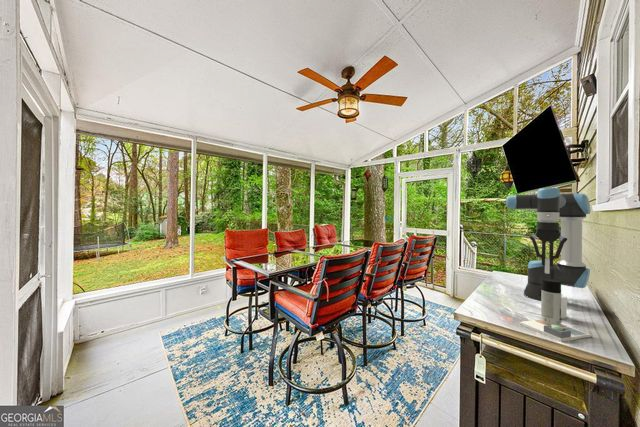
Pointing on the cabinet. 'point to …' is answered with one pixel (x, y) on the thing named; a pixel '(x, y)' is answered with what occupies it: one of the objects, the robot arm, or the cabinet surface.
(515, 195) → the robot arm
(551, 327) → the button
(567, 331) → the picture board
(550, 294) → the spray can
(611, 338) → the cabinet surface
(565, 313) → the mug
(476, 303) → the cabinet surface
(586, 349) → the cabinet surface
